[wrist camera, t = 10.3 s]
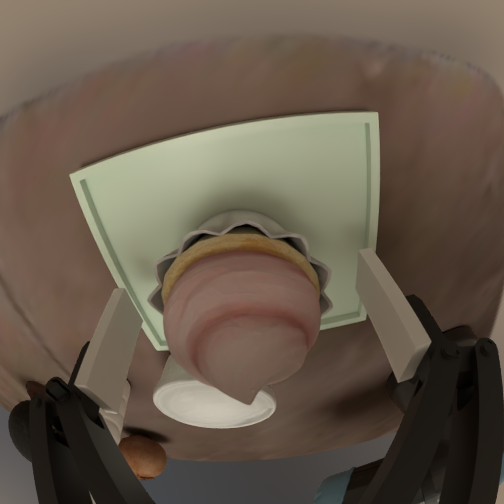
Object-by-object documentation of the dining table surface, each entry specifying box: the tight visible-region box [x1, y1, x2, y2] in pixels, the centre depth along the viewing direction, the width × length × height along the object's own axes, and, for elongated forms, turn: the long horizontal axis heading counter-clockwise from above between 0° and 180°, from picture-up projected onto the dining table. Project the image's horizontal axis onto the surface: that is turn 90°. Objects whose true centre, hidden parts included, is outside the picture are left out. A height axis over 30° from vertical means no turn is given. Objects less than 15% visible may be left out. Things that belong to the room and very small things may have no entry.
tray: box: [70, 110, 380, 351], centre depth 17 cm, size 18×16×1 cm
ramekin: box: [153, 354, 276, 428], centre depth 23 cm, size 11×11×5 cm
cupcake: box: [147, 210, 333, 405], centre depth 13 cm, size 9×9×10 cm
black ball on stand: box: [9, 381, 55, 462], centre depth 27 cm, size 13×13×15 cm
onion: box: [118, 434, 167, 480], centre depth 35 cm, size 10×9×10 cm
